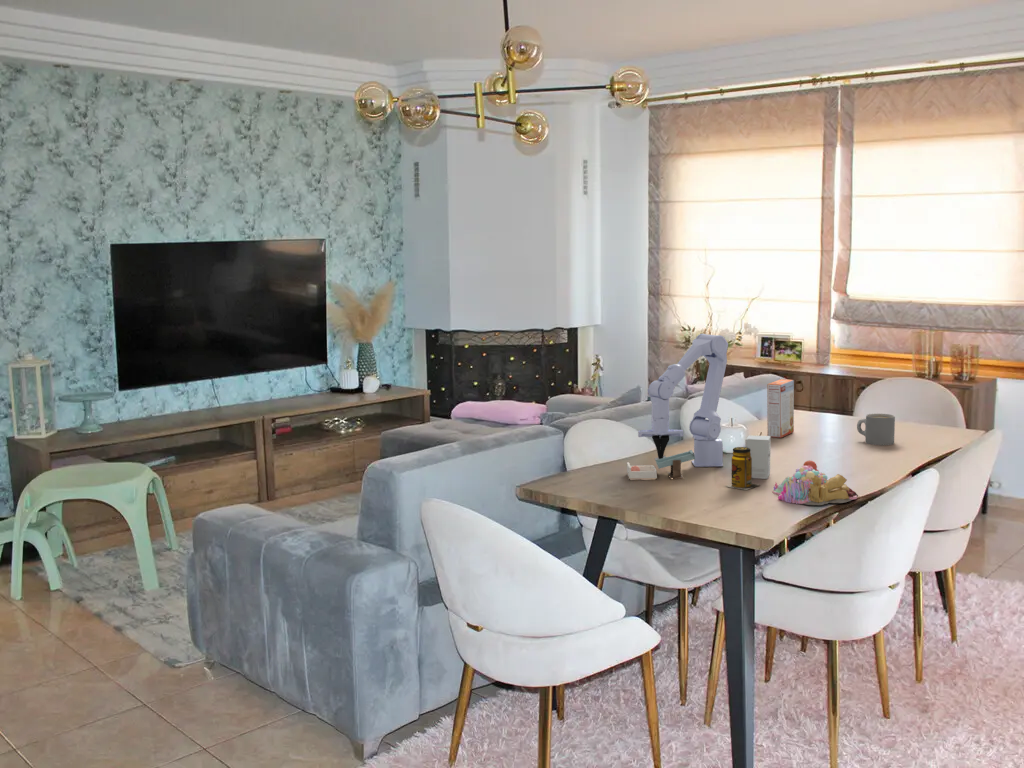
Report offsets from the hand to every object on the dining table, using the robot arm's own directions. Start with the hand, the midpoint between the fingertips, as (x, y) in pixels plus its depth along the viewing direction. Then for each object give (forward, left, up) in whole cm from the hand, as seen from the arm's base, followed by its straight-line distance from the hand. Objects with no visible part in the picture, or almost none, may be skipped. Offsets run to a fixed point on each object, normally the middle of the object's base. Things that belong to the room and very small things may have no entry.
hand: (660, 458), depth 326 cm
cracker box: (-53, -61, -5) cm, 81 cm away
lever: (-4, +3, 0) cm, 5 cm away
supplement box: (-30, +8, -5) cm, 31 cm away
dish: (+7, +7, -5) cm, 11 cm away
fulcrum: (-4, +7, -5) cm, 9 cm away
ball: (+9, +7, -2) cm, 12 cm away
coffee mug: (-84, -44, -5) cm, 95 cm away
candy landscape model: (-40, +34, -5) cm, 53 cm away
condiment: (-23, +21, -5) cm, 32 cm away
